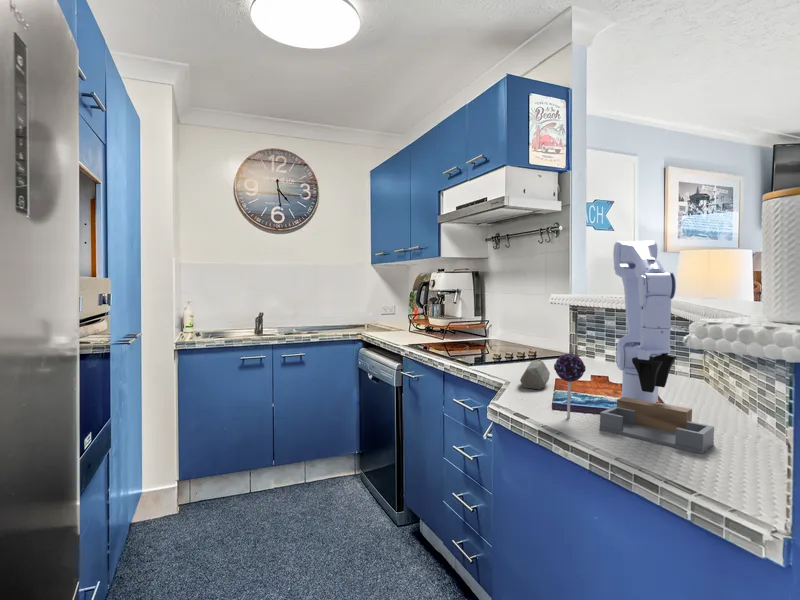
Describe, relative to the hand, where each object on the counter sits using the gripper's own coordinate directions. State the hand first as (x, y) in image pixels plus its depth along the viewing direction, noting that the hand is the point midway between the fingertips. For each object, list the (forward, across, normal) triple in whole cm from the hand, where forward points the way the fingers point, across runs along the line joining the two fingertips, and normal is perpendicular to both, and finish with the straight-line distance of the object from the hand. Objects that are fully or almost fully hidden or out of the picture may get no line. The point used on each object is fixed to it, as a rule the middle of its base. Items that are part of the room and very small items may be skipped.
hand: (653, 389), depth 101 cm
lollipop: (+8, +8, -15) cm, 19 cm away
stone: (+8, -16, -38) cm, 42 cm away
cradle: (+8, +8, +3) cm, 12 cm away
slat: (+8, 0, 0) cm, 8 cm away
